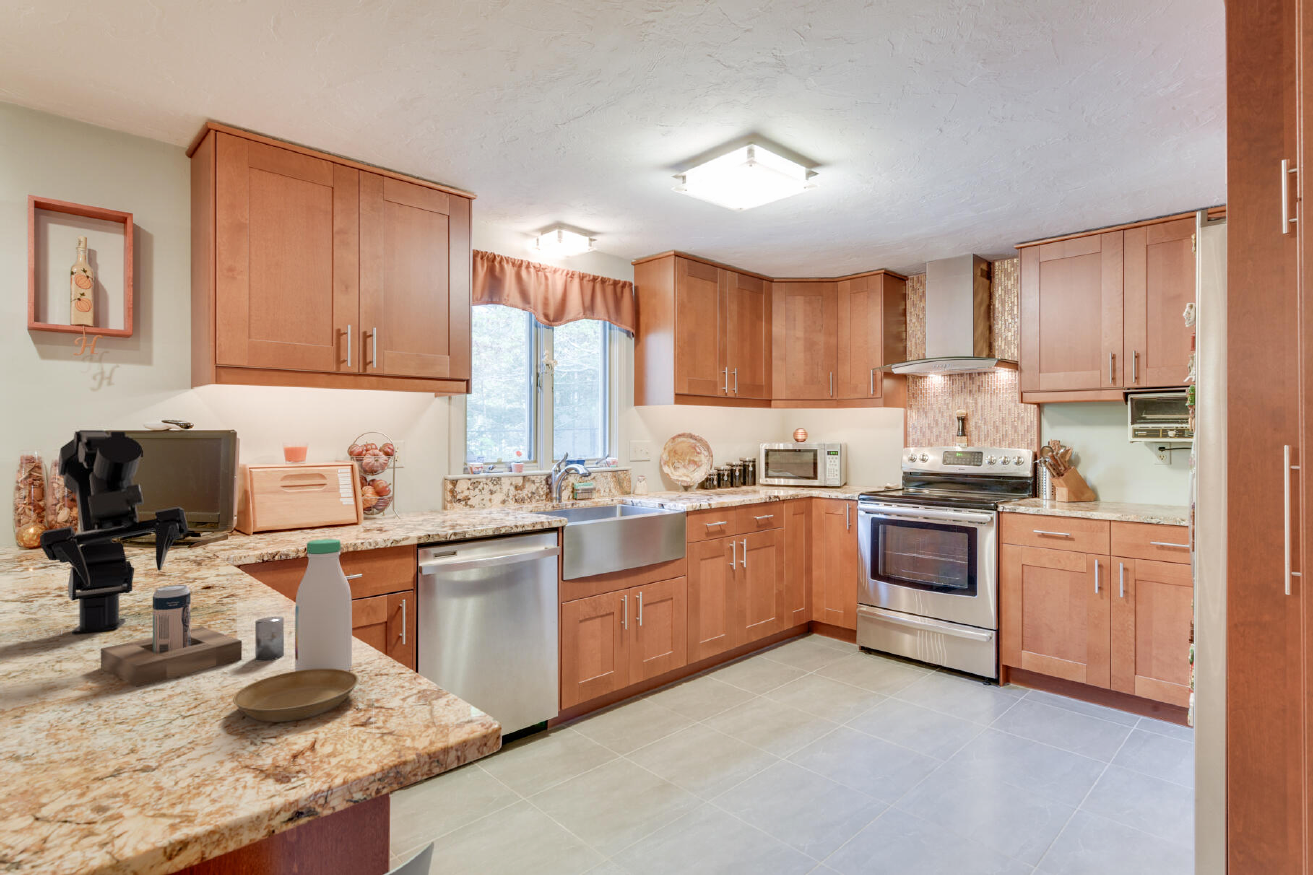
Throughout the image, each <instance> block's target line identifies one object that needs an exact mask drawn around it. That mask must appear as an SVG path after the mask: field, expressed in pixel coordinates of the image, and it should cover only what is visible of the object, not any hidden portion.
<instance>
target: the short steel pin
mask: <svg viewBox="0 0 1313 875" xmlns="http://www.w3.org/2000/svg"><path fill="white" fill-rule="evenodd" d="M284 618H285V617H283V616H266V617H263V618H258V619H257V620H255V626H254V627H255V632H254V634H255V635H254V636H255V641H254V642H255V646H254V647H255V650H254V651H255V659H254V660H256V661H259V662H264V661H265V662H267V661H273V660H277V659H276V658H278V659H280V658H282V657H283V656H284V655H285V651H284V650H285V644H284V643H285V635H284V634H285V627H284V625H285V619H284Z"/></svg>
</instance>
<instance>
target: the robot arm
mask: <svg viewBox="0 0 1313 875" xmlns="http://www.w3.org/2000/svg"><path fill="white" fill-rule="evenodd" d="M141 458H144V450H143V447H142V445H141V444H140V443H139V441H136V440H135V439H134V438H132V437H131V436H129V435H126V432H125V431H110V432H109V431H104V430H103V429H99V430H98V429H89V430H88V429H84V430H83V429H79V430H78V431H76V430H75V431H74V434H73V439H72V440H70V441H69V442H67V443H65V444H64V445H62V447H60V450H59V456H58V462H57V463H58V464H57V468H58V471H57V472H58V476H62V478H63V480H62V481H63V485H64V487H65V488H66V489H68V490H69V491H71V493H73V494H75V495H76V496H75V497H76V506H77V513H78V520H79V528H80V532H77V533H76V531H75V529H74V527H73V526H72V525H69V526H65V527H58V528H52V529H48V530H44V531H43V532H42V533H40V534H41V535H40V536H39V540H40V541H39V542H40V548H42V551H43V552H44V554H45V555H46V557H47V558H48V560H50V561H58V562H60V563H61V564H63V563H65V564H66V563H69V564H70V565H71V568H70V572H69V576H68V579H69V580H68V585H67V589H68V590H67V591H68V592H67V593H68V598H69V599H70V601H72V602H73V601H76V600H79V602H78V603H79V605H78V606H79V613H78V614H79V615H78V616H79V617H78V618H79V620H78V621H79V622H78V624H79V625H78V626H77V627H75V628H74V629H73V630H72V631H71V633H72V634H84V633H91V632H103V631H111V630H112V631H113V630H118V628H120V627H121V625H123V624H124V623H125V622H126V618H120V595H121V594H129V593H131V592H132V591H133V581H134V580H133V579H134V575H135V567H133V566H132V562H131V561H130V560H127V556H126V553H125V548H124V545H123V543H121V541H116V542H114V541H113V540H112V539H119V538H124V537H129V536H135V535H140V534H144V533H150V532H154V531H155V561H156V563H155V564H156V568H157V571H158V572H159V571H162V569H163V566H164V563H165V560H166V557H167V554H168V552H169V550H170V548H171V547H172V545H173V543H174V541H177V540H180V538H181V536H182V535H186V534H188V533H189V529H188V528H189V527H188V522H187V517H186V514H185V511H184V508H183V507H180V506H174V507H170V508H169V507H168V508H163V509H157V510H155V511H154V513H155V514H154V515H155V518H152V519H147V520H142V521H139V520H140V519H139V514H138V507H137V506H139V505H140V506H141V505H144V503H145V501H144V496H143V492H142V486H141V484H134V482H133V481H134V480H133V478H134V477H135V476H136V474H137V470H138V466H139V464H140V460H141Z"/></svg>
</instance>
